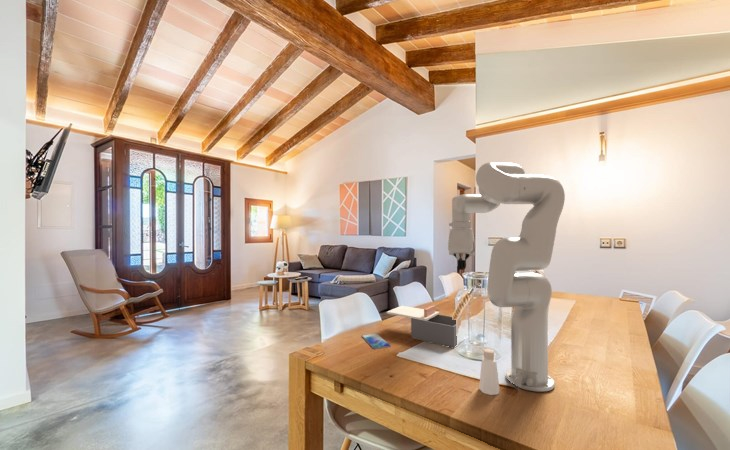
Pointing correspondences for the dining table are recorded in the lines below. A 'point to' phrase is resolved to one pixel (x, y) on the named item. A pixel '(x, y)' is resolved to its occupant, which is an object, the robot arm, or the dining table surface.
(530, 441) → the dining table surface
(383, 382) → the dining table surface
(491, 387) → the pepper shaker
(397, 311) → the lid
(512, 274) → the robot arm
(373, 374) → the dining table surface
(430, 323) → the box
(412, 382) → the dining table surface
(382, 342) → the smartphone
